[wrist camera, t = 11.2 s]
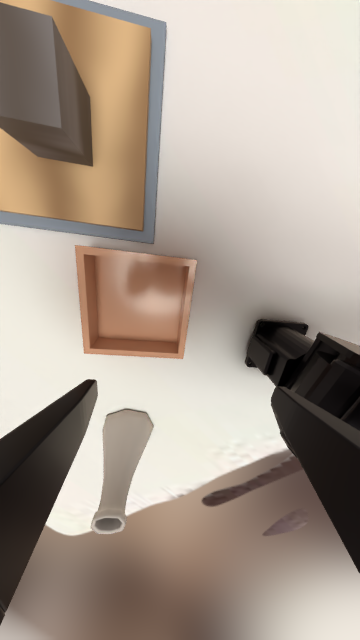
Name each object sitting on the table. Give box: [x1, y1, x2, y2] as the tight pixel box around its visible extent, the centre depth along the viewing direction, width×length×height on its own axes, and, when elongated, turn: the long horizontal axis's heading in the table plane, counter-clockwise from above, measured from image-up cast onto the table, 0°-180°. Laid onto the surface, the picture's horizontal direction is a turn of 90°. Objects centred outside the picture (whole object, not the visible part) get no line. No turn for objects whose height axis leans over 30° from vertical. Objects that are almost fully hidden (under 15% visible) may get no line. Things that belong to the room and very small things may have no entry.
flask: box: [91, 410, 154, 534], centre depth 21 cm, size 7×7×10 cm
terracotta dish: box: [75, 245, 197, 359], centre depth 18 cm, size 10×10×3 cm
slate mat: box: [0, 0, 166, 244], centre depth 14 cm, size 14×14×1 cm
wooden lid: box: [0, 0, 152, 231], centre depth 11 cm, size 12×12×5 cm
